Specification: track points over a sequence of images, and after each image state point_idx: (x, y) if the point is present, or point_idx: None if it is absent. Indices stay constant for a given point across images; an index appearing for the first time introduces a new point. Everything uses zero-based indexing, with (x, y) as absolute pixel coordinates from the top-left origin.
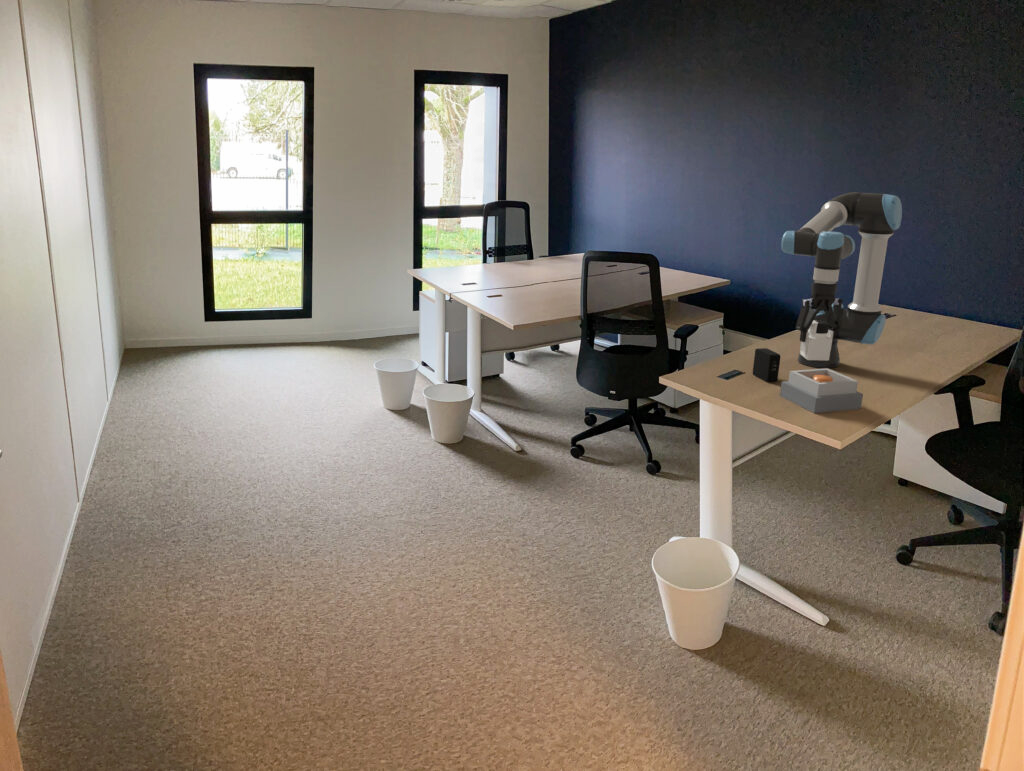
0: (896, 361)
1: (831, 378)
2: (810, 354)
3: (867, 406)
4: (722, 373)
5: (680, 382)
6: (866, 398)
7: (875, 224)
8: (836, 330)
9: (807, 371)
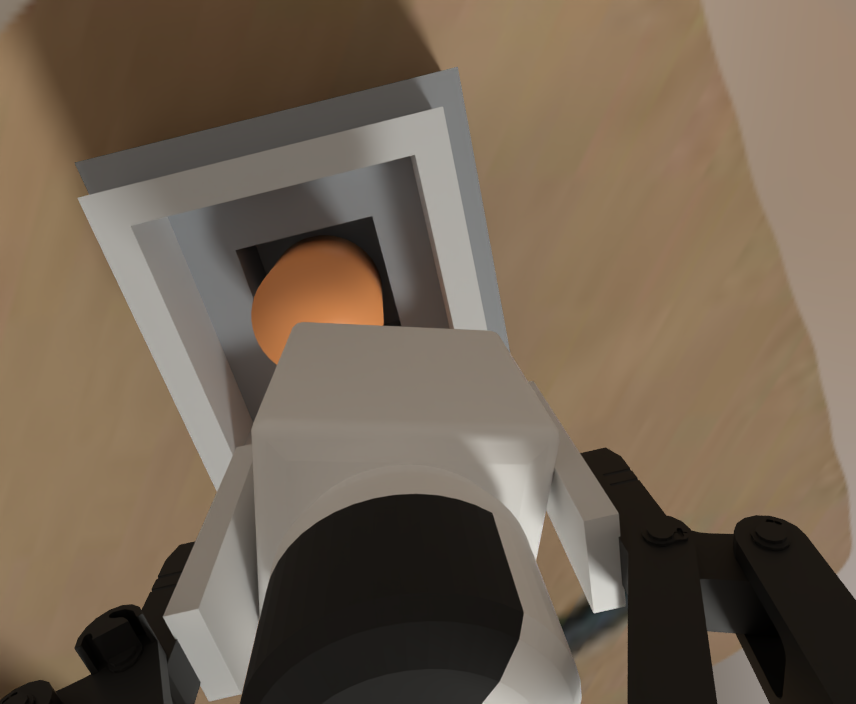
0: None
1: (264, 299)
2: (488, 347)
3: (65, 203)
4: (609, 636)
5: (847, 522)
6: (32, 344)
7: None
8: (111, 622)
9: None
